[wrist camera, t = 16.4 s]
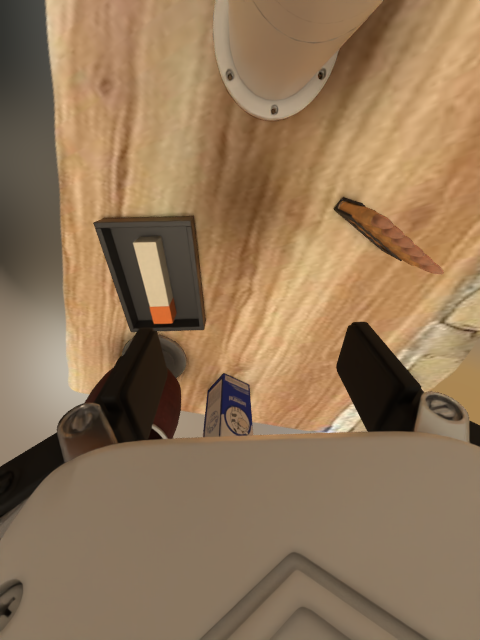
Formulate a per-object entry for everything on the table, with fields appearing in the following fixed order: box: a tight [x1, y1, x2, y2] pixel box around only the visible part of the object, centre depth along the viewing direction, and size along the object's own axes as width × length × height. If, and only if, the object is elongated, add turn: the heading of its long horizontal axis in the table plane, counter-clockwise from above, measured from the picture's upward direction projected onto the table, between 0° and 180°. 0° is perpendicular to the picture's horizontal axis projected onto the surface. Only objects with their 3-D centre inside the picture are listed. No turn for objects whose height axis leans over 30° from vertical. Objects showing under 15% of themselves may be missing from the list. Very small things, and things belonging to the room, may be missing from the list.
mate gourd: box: [85, 335, 186, 440], centre depth 38 cm, size 16×14×20 cm
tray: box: [94, 216, 206, 332], centre depth 36 cm, size 17×12×3 cm
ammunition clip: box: [334, 197, 444, 274], centre depth 29 cm, size 11×2×12 cm, turn 57°
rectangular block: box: [133, 236, 176, 324], centre depth 36 cm, size 13×3×3 cm, turn 1°
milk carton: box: [203, 374, 253, 437], centre depth 44 cm, size 7×7×20 cm
